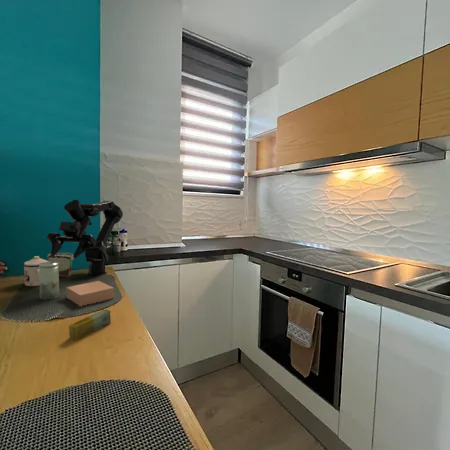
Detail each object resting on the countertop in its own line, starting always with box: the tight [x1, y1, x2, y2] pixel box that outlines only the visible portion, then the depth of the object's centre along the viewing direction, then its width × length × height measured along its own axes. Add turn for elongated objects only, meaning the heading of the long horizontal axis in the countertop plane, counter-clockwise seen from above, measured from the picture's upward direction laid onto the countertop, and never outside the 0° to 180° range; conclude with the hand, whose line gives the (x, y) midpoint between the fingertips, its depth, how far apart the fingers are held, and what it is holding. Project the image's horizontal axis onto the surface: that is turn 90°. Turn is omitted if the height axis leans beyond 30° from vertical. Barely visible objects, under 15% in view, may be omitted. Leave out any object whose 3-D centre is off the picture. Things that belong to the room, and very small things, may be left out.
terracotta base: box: [66, 280, 115, 307], centre depth 102 cm, size 12×12×4 cm
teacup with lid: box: [23, 255, 49, 287], centre depth 115 cm, size 12×9×12 cm
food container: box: [46, 252, 75, 278], centre depth 132 cm, size 12×6×10 cm, turn 84°
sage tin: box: [39, 262, 60, 301], centre depth 101 cm, size 6×6×13 cm
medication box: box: [68, 309, 112, 341], centre depth 78 cm, size 12×3×4 cm, turn 157°
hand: (63, 257), depth 109 cm, fingers open, 9 cm apart
